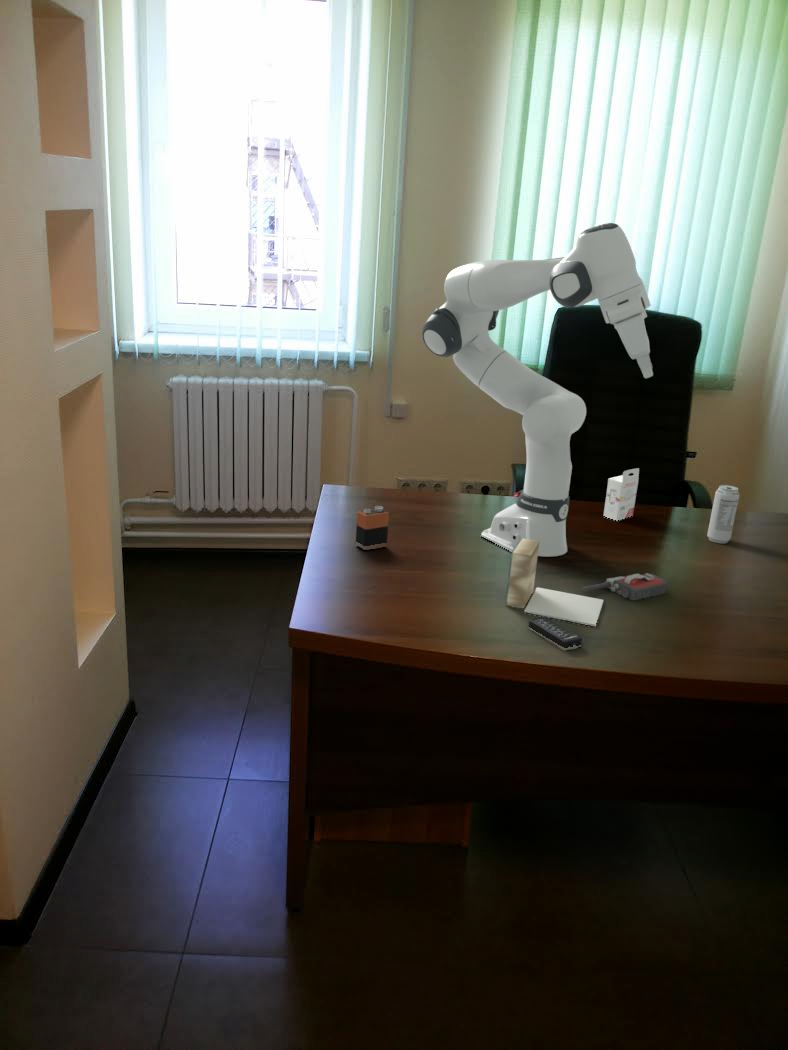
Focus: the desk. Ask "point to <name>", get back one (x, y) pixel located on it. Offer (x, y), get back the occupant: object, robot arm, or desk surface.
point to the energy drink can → (723, 514)
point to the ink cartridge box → (621, 495)
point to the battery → (372, 526)
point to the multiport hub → (555, 632)
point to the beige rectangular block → (522, 572)
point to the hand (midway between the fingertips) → (648, 373)
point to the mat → (565, 606)
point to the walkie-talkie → (634, 586)
